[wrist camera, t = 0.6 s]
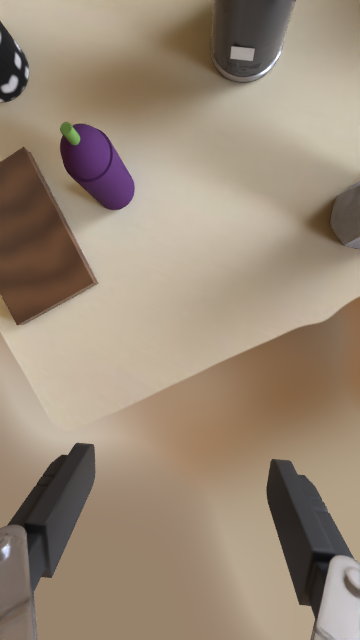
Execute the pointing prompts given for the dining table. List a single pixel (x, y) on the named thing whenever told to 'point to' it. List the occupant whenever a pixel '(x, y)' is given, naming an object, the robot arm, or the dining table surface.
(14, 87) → the spotted tube
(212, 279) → the dining table surface
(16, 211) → the cutting board
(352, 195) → the coffeepot
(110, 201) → the eggplant
